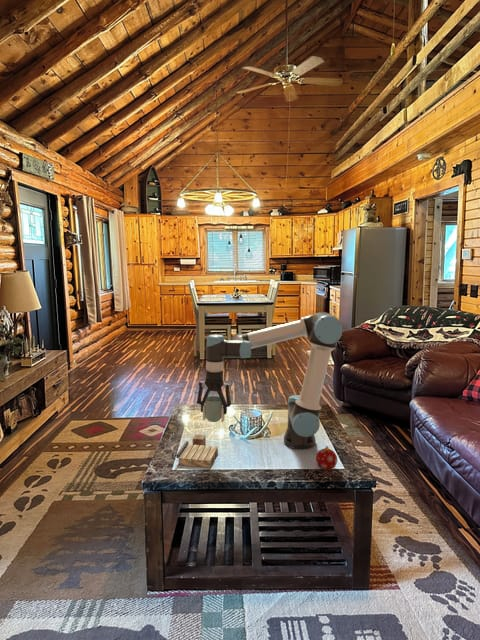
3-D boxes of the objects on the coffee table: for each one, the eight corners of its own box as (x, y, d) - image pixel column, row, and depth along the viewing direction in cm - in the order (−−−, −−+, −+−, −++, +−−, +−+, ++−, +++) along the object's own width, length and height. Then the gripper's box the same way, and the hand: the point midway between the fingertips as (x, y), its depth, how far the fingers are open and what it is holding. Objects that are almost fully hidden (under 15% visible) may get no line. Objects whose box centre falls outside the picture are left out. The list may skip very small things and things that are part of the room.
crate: (205, 445, 195) (205, 435, 194) (203, 449, 190) (203, 439, 189) (195, 444, 195) (195, 434, 195) (192, 449, 190) (192, 438, 190)
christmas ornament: (322, 462, 178) (322, 440, 177) (340, 468, 172) (341, 445, 171) (312, 469, 171) (312, 446, 170) (330, 476, 166) (331, 452, 165)
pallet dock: (218, 452, 186) (217, 443, 186) (210, 467, 172) (210, 457, 172) (186, 450, 189) (186, 440, 188) (176, 464, 175) (176, 454, 175)
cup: (219, 424, 178) (220, 402, 177) (202, 422, 180) (203, 400, 178) (224, 418, 186) (224, 397, 184) (207, 416, 187) (208, 395, 186)
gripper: (239, 369, 181) (237, 419, 184) (194, 366, 185) (194, 414, 188) (235, 374, 174) (234, 425, 177) (189, 370, 178) (188, 420, 181)
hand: (213, 419), depth 183 cm, fingers closed on cup, 8 cm apart
